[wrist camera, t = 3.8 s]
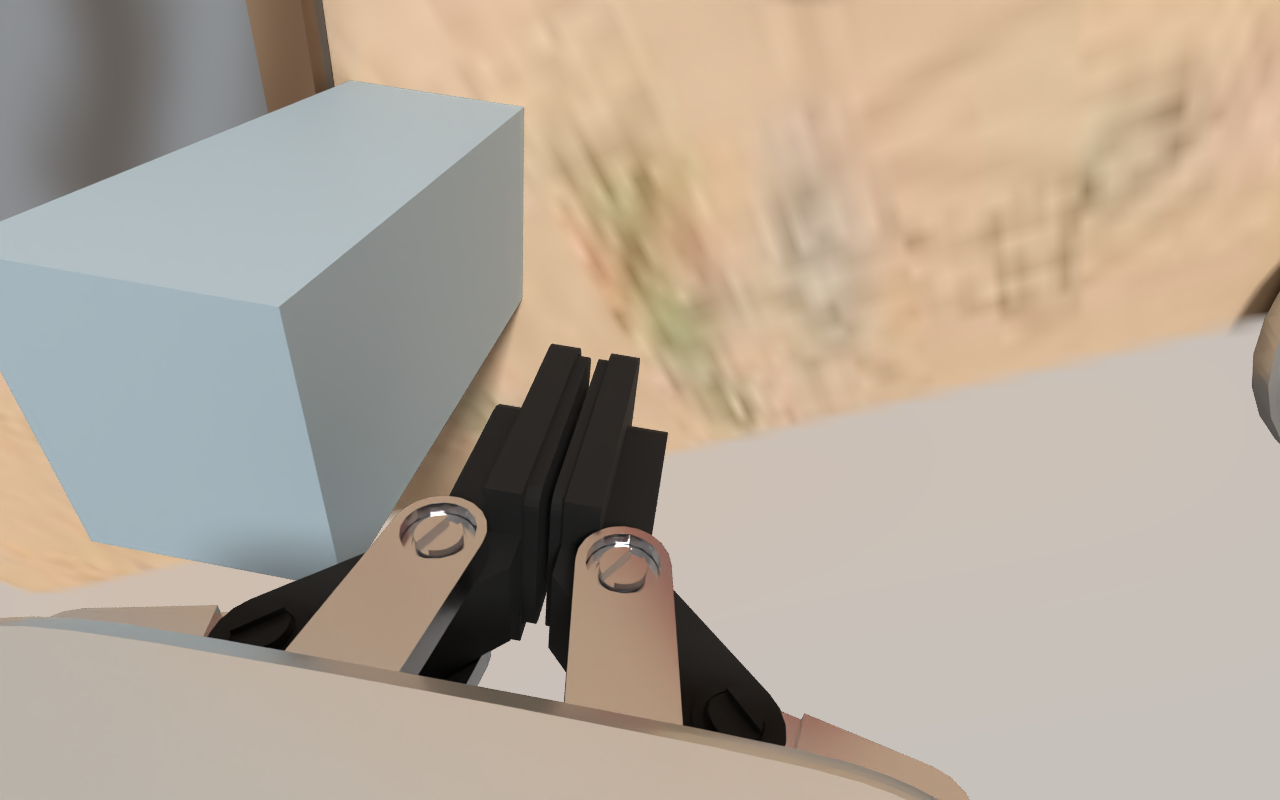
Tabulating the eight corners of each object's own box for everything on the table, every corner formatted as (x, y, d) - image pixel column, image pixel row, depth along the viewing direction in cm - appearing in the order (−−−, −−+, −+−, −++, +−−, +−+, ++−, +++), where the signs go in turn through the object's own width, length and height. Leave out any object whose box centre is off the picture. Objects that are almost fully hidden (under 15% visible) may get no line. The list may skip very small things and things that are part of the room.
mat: (283, -265, 15) (256, -275, 14) (384, 434, 27) (372, 450, 26) (-298, -339, 16) (-355, -353, 15) (48, 374, 27) (27, 388, 27)
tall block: (524, 106, 19) (278, 306, 9) (522, 298, 22) (343, 589, 13) (350, 80, 19) (-66, 248, 9) (375, 274, 23) (91, 540, 13)
